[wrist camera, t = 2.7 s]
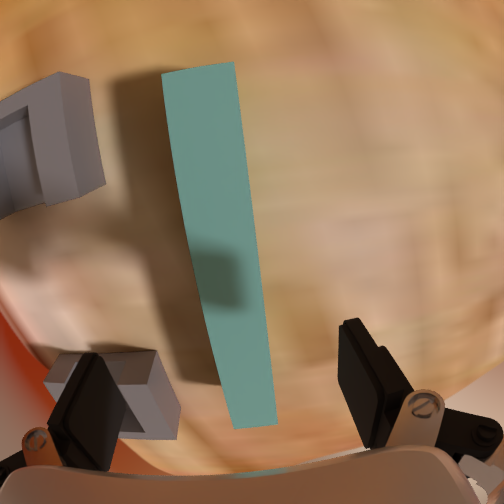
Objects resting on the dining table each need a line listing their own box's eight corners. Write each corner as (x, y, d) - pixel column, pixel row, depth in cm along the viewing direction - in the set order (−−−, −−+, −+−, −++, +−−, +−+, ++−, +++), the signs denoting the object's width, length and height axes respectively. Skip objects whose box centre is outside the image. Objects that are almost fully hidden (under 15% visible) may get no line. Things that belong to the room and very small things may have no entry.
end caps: (-14, 127, 14) (-46, 132, 11) (88, 79, 14) (59, 71, 11) (91, 406, 24) (80, 434, 20) (180, 407, 24) (176, 439, 20)
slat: (179, 87, 15) (161, 74, 11) (233, 78, 15) (233, 61, 11) (233, 384, 23) (234, 428, 19) (271, 379, 23) (277, 424, 19)
